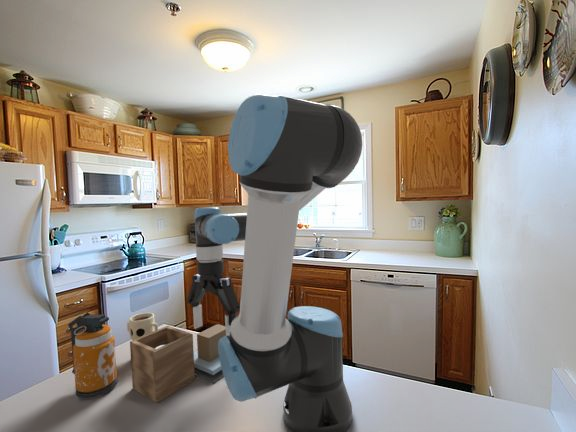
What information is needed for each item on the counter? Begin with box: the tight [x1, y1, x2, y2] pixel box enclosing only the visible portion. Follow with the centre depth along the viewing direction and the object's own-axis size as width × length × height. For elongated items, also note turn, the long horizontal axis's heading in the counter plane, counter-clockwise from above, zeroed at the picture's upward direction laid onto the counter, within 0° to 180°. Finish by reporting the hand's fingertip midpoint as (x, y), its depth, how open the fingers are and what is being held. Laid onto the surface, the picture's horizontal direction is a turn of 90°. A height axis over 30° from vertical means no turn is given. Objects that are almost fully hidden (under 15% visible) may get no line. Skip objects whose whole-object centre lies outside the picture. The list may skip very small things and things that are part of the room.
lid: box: [193, 323, 226, 375], centre depth 87 cm, size 13×13×9 cm
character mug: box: [126, 312, 159, 341], centre depth 92 cm, size 11×7×13 cm, turn 77°
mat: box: [194, 367, 224, 384], centre depth 87 cm, size 15×14×1 cm
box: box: [129, 325, 196, 404], centre depth 78 cm, size 11×11×12 cm
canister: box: [67, 312, 118, 400], centre depth 76 cm, size 9×11×20 cm
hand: (213, 331), depth 87 cm, fingers open, 13 cm apart
